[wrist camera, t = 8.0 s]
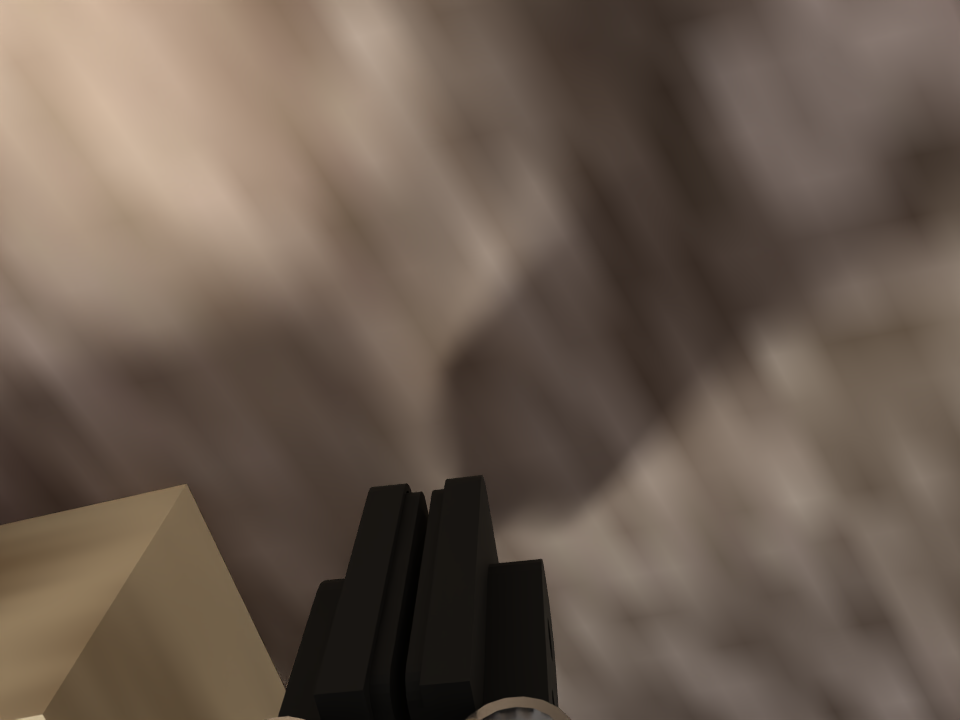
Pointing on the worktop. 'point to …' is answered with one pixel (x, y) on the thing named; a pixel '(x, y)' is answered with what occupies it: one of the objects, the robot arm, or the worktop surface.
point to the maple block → (127, 618)
